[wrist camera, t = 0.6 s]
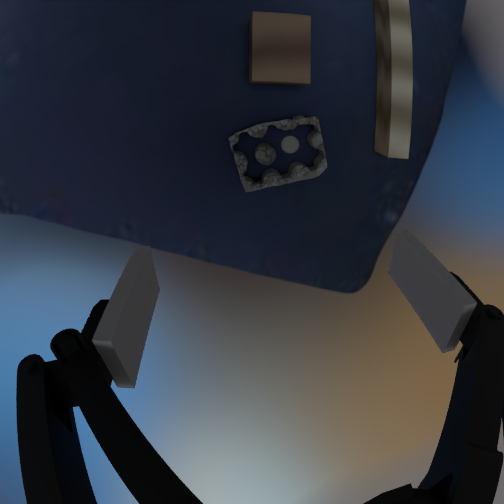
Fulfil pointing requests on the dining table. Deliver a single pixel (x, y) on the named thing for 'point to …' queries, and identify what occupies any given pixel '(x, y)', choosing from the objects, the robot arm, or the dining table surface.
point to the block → (279, 48)
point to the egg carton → (268, 154)
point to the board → (393, 78)
